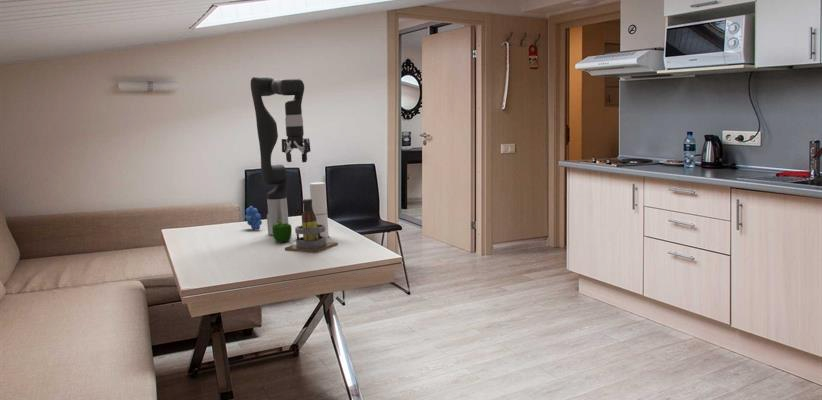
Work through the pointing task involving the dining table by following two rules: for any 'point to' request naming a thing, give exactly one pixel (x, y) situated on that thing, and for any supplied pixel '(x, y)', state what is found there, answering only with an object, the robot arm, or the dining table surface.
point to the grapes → (253, 217)
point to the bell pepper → (282, 232)
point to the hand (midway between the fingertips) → (296, 162)
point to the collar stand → (311, 245)
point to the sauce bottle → (308, 219)
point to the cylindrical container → (319, 204)
